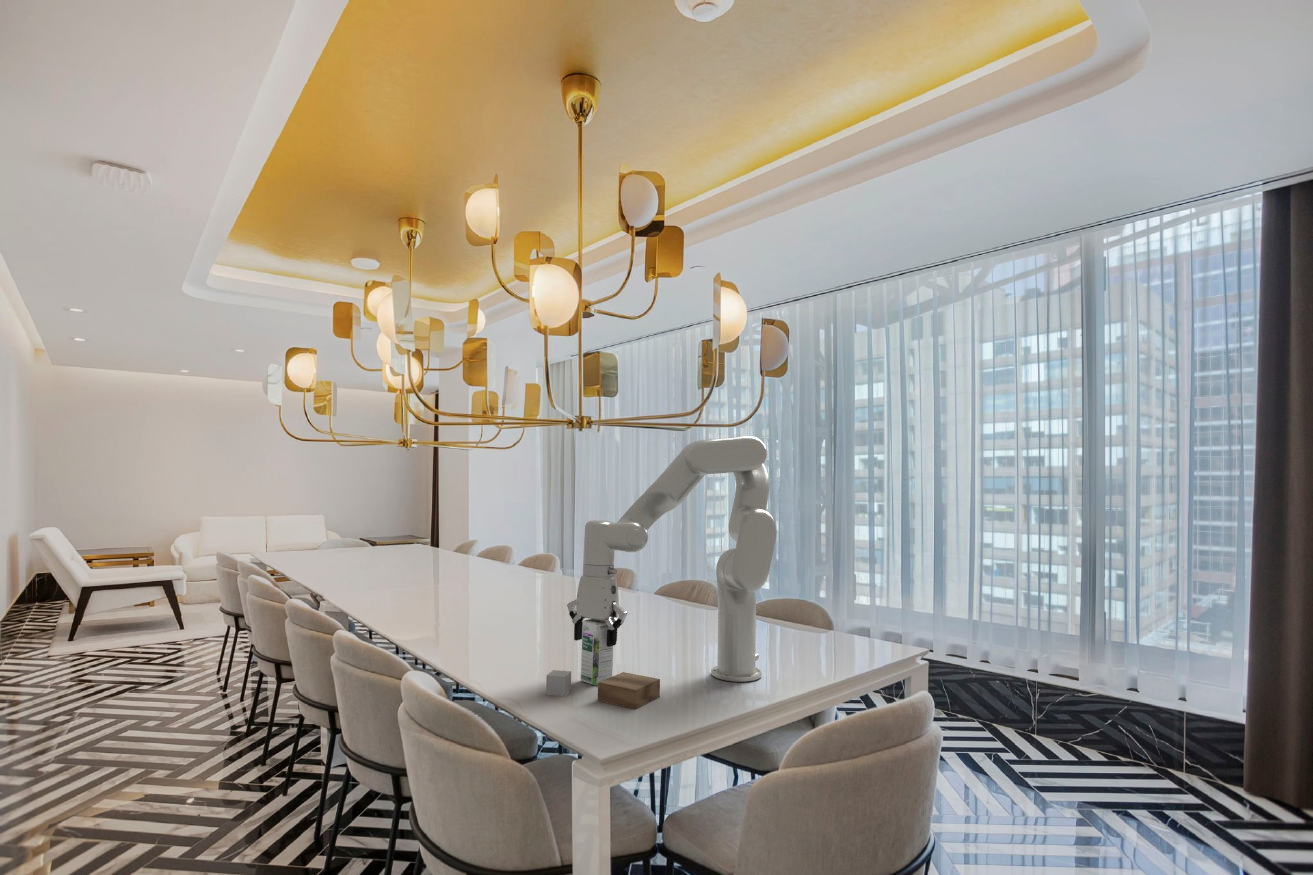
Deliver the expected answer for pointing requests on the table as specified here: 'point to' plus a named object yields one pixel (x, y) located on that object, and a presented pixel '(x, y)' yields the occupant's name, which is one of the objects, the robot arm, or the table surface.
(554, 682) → the grey stone cube
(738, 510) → the robot arm
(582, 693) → the table surface
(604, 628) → the syrup box
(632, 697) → the walnut base
